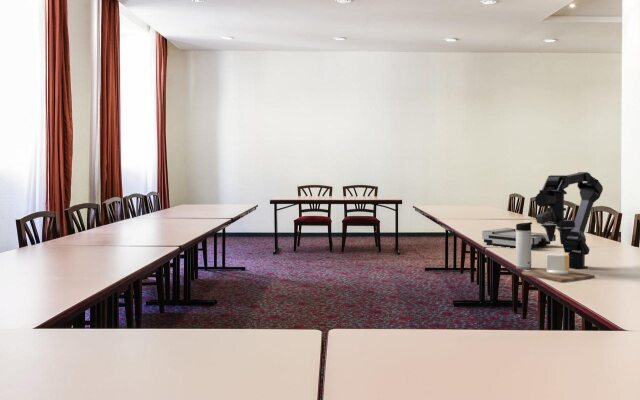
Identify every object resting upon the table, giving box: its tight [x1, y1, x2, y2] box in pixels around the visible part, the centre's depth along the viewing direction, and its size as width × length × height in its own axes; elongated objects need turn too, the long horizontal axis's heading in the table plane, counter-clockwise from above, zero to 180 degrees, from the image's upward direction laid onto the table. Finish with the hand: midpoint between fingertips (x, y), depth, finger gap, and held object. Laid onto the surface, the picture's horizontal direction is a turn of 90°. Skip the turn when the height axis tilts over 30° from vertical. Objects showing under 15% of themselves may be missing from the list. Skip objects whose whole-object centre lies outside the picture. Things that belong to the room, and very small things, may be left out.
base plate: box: [521, 268, 596, 284], centre depth 226 cm, size 18×20×1 cm
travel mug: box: [515, 221, 533, 271], centre depth 243 cm, size 6×7×20 cm
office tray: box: [481, 227, 557, 249], centre depth 311 cm, size 21×32×8 cm, turn 35°
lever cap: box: [545, 253, 570, 275], centre depth 226 cm, size 8×8×7 cm
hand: (556, 242), depth 235 cm, fingers open, 9 cm apart
